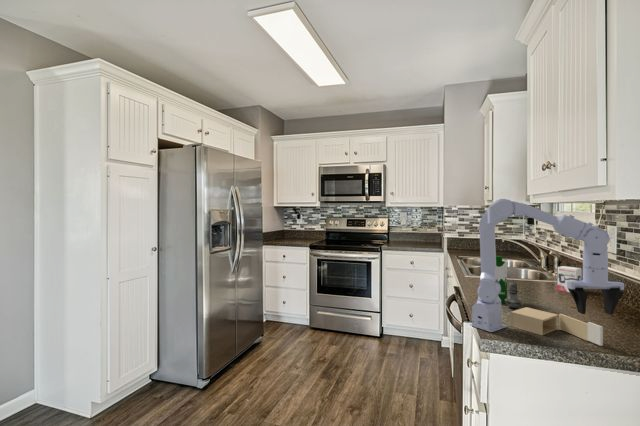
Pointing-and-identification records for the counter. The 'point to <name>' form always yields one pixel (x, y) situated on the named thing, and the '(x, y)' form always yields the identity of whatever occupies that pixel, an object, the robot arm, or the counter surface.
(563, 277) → the ink box
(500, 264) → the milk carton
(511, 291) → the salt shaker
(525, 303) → the counter surface
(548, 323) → the carton
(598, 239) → the robot arm
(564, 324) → the flap
